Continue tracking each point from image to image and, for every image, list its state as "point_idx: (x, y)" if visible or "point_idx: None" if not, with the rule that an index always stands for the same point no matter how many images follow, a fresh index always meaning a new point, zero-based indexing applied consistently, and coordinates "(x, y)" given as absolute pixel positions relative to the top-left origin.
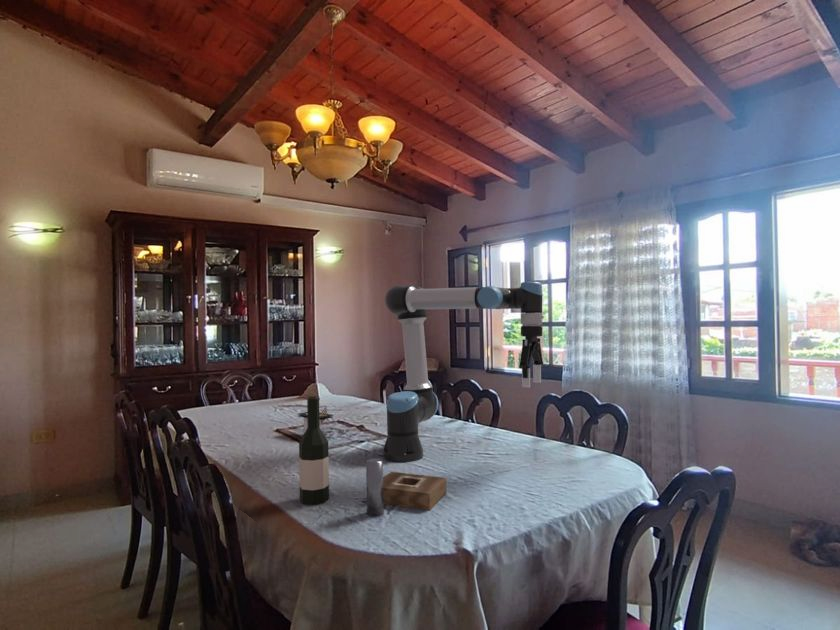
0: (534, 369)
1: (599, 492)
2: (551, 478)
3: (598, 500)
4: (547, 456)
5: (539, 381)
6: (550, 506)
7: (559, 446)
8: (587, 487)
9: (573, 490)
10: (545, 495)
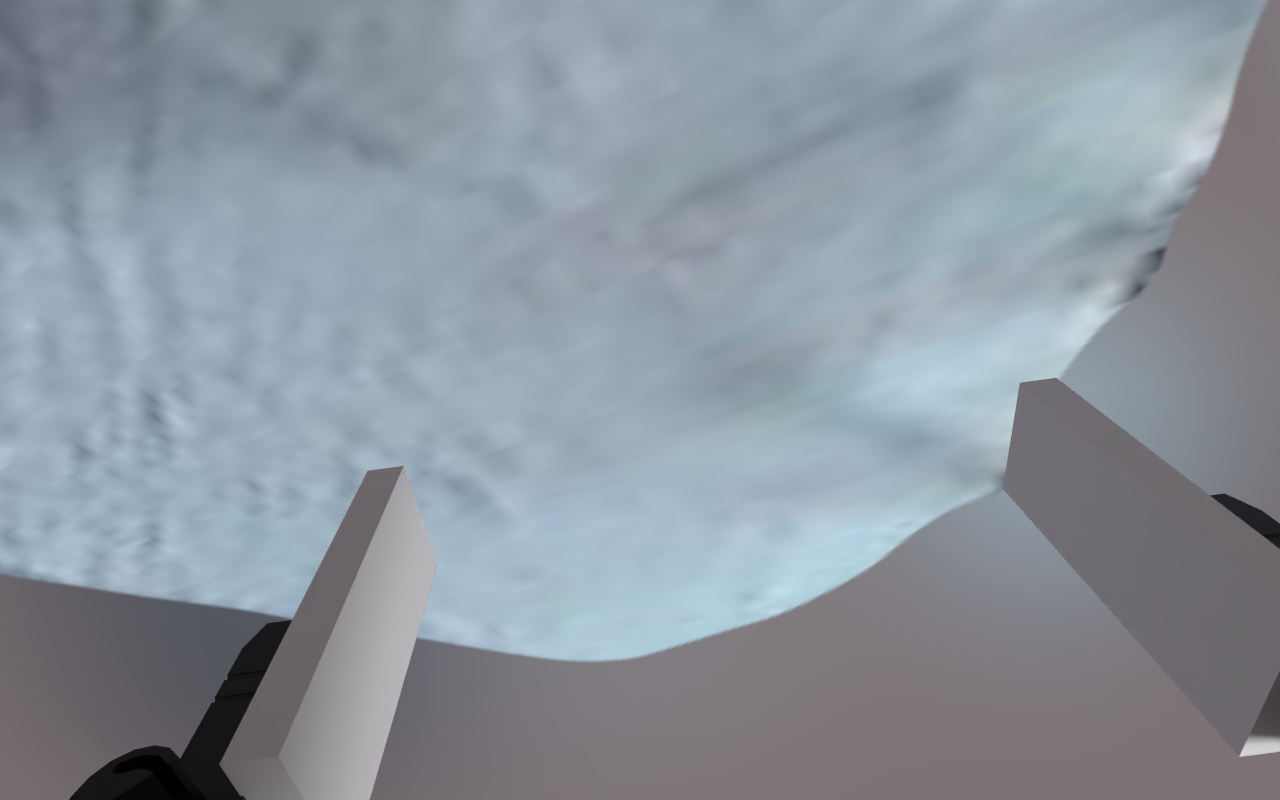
0: (1185, 559)
1: None
2: (424, 401)
3: None
4: (802, 230)
5: (1017, 488)
6: (101, 522)
7: (1076, 202)
8: None
9: None
10: (192, 465)
